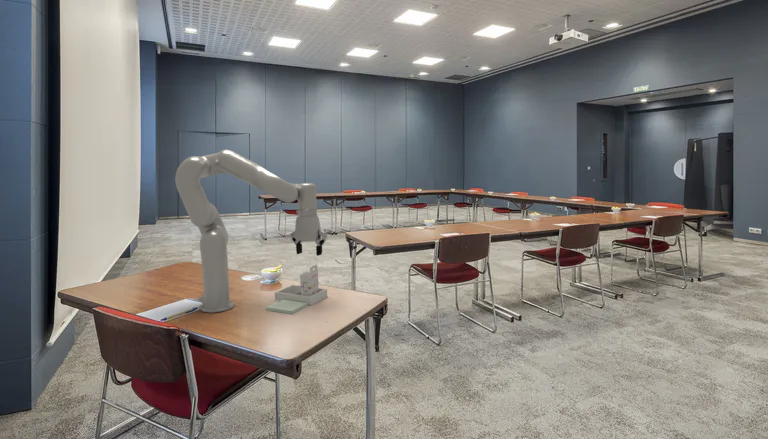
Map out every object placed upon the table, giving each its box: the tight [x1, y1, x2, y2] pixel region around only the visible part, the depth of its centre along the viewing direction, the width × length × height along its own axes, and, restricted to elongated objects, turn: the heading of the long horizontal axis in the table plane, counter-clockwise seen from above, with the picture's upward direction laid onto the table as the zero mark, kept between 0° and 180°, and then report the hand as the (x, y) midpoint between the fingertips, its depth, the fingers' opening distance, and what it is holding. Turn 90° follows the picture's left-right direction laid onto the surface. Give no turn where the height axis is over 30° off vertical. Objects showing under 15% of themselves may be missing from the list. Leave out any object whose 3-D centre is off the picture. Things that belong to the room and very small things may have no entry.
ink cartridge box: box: [299, 263, 319, 296], centre depth 180 cm, size 9×5×15 cm, turn 168°
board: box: [265, 300, 308, 315], centre depth 171 cm, size 12×10×1 cm
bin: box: [274, 284, 328, 306], centre depth 183 cm, size 18×13×4 cm
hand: (309, 254), depth 179 cm, fingers open, 9 cm apart
